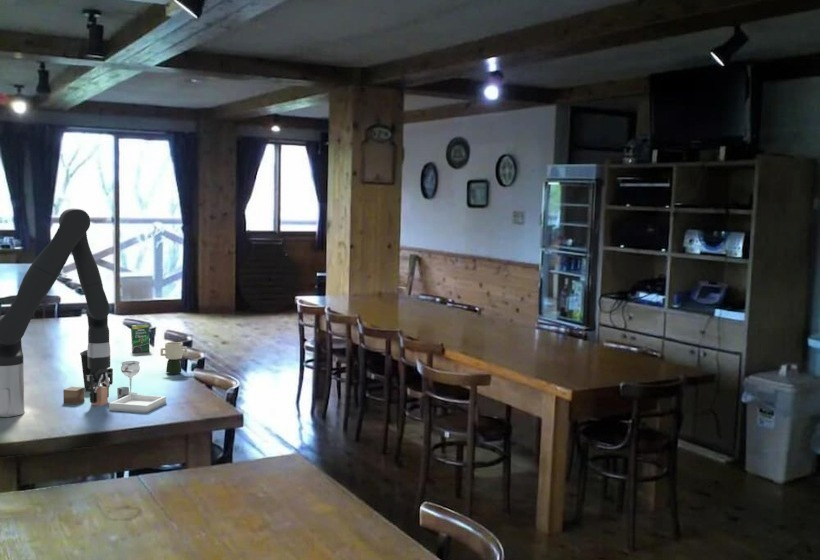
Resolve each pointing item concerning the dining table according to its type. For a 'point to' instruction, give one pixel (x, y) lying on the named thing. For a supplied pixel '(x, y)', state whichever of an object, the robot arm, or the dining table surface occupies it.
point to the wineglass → (130, 370)
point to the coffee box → (140, 338)
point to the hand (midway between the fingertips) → (99, 400)
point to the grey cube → (122, 392)
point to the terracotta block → (101, 396)
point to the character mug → (173, 356)
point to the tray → (137, 403)
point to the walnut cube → (73, 395)
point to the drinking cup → (85, 364)
